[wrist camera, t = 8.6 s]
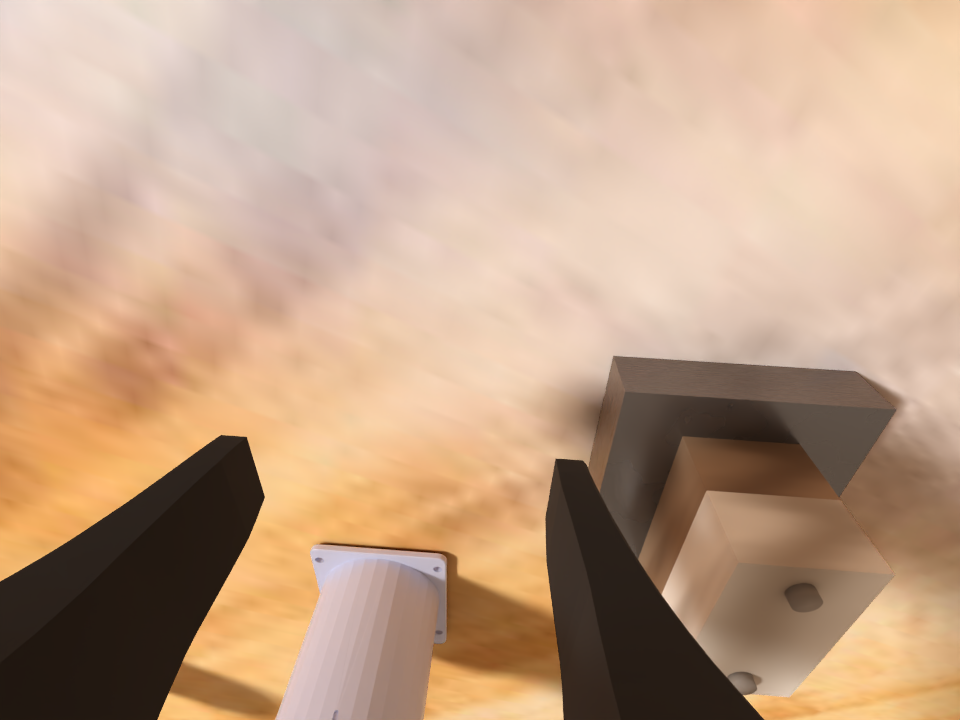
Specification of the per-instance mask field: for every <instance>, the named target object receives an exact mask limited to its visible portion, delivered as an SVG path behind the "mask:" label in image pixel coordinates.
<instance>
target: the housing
mask: <svg viewBox="0 0 960 720" xmlns="http://www.w3.org/2000/svg"><path fill="white" fill-rule="evenodd" d="M638 560H639V562H640V564H641V565H642V567H643V568H644V570H645V571H646V573H647V574H648V576H649V577H650V579H651V580H652V582H653V583H654V585H655V586H656V588H657V589H658V590H659V592H660V593H661V595H662V596H663V598H664V599H665V600H666V602H667V603H668V604H669V606H670V607H671V609H672V610H673V611H674V613H675V614H676V615H677V617H678V618H679V619H680V621H681V622H682V623H683V624H684V626H685V627H686V628H687V630H688V631H689V632H690V634H691V635H692V636H693V637H694V639H695V640H696V641H697V642H698V644H699V645H700V646H701V647H702V649H703V650H704V651H705V652H706V654H707V655H708V656H709V657H710V659H711V660H712V661H713V662H714V663H715V664H716V666H717V667H718V668H719V669H720V670H721V671H722V672H723V674H724V675H725V676H726V677H727V678H728V679H729V680H730V682H731V683H732V684H733V685H734V686H735V687H736V688H737V689H738V691H739V692H740V693H741V694H742V695H748V694H757V695H769V696H781V697H790V696H791V695H792V694H793V693H794V691H795V690H796V689H797V688H798V687H799V686H800V684H801V683H802V682H803V681H804V680H805V679H806V678H807V676H808V675H809V674H810V673H811V672H812V671H813V669H814V668H815V667H816V666H817V665H818V664H819V663H820V661H821V660H822V659H823V658H824V657H825V656H826V654H827V653H828V652H829V651H830V650H831V649H832V647H833V646H834V645H835V644H836V643H837V642H838V641H839V639H840V638H841V637H842V636H843V635H844V634H845V632H846V631H847V630H848V629H849V628H850V627H851V626H852V624H853V623H854V622H855V621H856V620H857V619H858V617H859V616H860V615H861V614H862V613H863V612H864V610H865V609H866V608H867V607H868V606H869V605H870V604H871V602H872V601H873V600H874V599H875V598H876V597H877V595H878V594H879V593H880V592H881V591H882V590H883V589H884V587H885V586H886V585H887V584H888V583H889V582H890V580H891V579H892V578H893V577H894V576H895V573H894V572H893V571H892V569H891V568H890V566H889V565H888V564H887V562H886V561H885V560H884V558H883V557H882V556H881V554H880V553H879V551H878V550H877V549H876V547H875V546H874V545H873V543H872V542H871V541H870V539H869V538H868V536H867V535H866V534H865V532H864V531H863V530H862V528H861V527H860V526H859V524H858V523H857V521H856V520H855V519H854V517H853V516H852V515H851V513H850V512H849V511H848V509H847V508H846V506H845V505H844V504H843V502H842V501H841V500H840V498H839V497H838V495H837V494H836V493H835V491H834V490H833V489H832V487H831V486H830V485H829V483H828V482H827V480H826V479H825V478H824V476H823V475H822V474H821V472H820V471H819V470H818V468H817V467H816V465H815V464H814V463H813V461H812V460H811V459H810V457H809V456H808V455H807V453H806V452H805V450H804V449H803V448H802V446H801V445H800V444H787V443H773V442H758V441H744V440H729V439H715V438H701V437H686V436H682V439H681V442H680V445H679V447H678V450H677V453H676V456H675V459H674V461H673V464H672V467H671V470H670V472H669V475H668V478H667V481H666V484H665V486H664V489H663V492H662V495H661V497H660V500H659V503H658V506H657V509H656V511H655V514H654V517H653V520H652V522H651V525H650V528H649V531H648V534H647V536H646V539H645V542H644V545H643V547H642V550H641V553H640V556H639V559H638Z"/></svg>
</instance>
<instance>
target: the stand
mask: <svg viewBox="0 0 960 720" xmlns="http://www.w3.org/2000/svg"><path fill="white" fill-rule="evenodd" d="M896 410H897V409H895V408H894V407H893V406H892V405H891V404H890V403H889V402H888V401H887V400H886V399H885V398H884V397H883V396H881V395H880V394H879V393H878V392H877V391H876V390H875V389H874V388H873V387H872V386H871V385H870V384H869V383H867V382H866V381H865V380H864V379H863V378H862V377H861V376H860V375H859V374H858V373H857V372H852V371H836V370H821V369H805V368H789V367H774V366H758V365H742V364H727V363H711V362H695V361H680V360H664V359H648V358H633V357H617V356H613V361H612V365H611V369H610V374H609V378H608V383H607V387H606V391H605V396H604V400H603V405H602V409H601V414H600V418H599V422H598V427H597V431H596V436H595V440H594V444H593V449H592V453H591V458H590V462H589V467H588V470H589V472H590V474H591V476H592V478H593V480H594V483H595V485H596V487H597V489H598V491H599V493H600V495H601V497H602V498H603V500H604V502H605V504H606V506H607V508H608V510H609V512H610V513H611V515H612V517H613V519H614V521H615V522H616V524H617V526H618V527H619V529H620V531H621V533H622V534H623V536H624V538H625V539H626V541H627V543H628V544H629V546H630V548H631V549H632V551H633V553H634V554H635V556H636V557H637V559H639V556H640V553H641V550H642V547H643V545H644V542H645V539H646V536H647V534H648V531H649V528H650V525H651V522H652V520H653V517H654V514H655V511H656V509H657V506H658V503H659V500H660V497H661V495H662V492H663V489H664V486H665V484H666V481H667V478H668V475H669V472H670V470H671V467H672V464H673V461H674V459H675V456H676V453H677V450H678V447H679V445H680V442H681V439H682V436H686V437H701V438H715V439H729V440H744V441H758V442H773V443H787V444H800V445H801V446H802V448H803V449H804V450H805V452H806V453H807V455H808V456H809V457H810V459H811V460H812V461H813V463H814V464H815V465H816V467H817V468H818V470H819V471H820V472H821V474H822V475H823V476H824V478H825V479H826V480H827V482H828V483H829V485H830V486H831V487H832V489H833V490H834V491H835V493H836V494H837V495H838V497H840V495H841V494H842V492H843V491H844V489H845V487H846V486H847V484H848V483H849V481H850V480H851V478H852V477H853V475H854V474H855V472H856V471H857V469H858V468H859V466H860V465H861V463H862V462H863V460H864V459H865V457H866V456H867V454H868V452H869V451H870V449H871V448H872V446H873V445H874V443H875V442H876V440H877V439H878V437H879V436H880V434H881V433H882V431H883V430H884V428H885V427H886V425H887V424H888V422H889V421H890V419H891V417H892V416H893V414H894V413H895V411H896Z"/></svg>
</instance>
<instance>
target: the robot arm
mask: <svg viewBox="0 0 960 720" xmlns="http://www.w3.org/2000/svg"><path fill="white" fill-rule="evenodd" d="M264 498H265V496H264V493H263V490H262V486H261V483H260V480H259V476H258V473H257V470H256V467H255V463H254V460H253V457H252V453H251V450H250V447H249V443H248V440H247V437H239V436H225V435H221V436H219V437H218V438H216V439H215V440H213V441H212V442H210V443H209V444H207V445H206V446H205V447H203V448H202V449H200V450H199V451H198V452H196V453H195V454H194V455H192V456H191V457H189V458H188V459H187V460H185V461H184V462H183V463H181V464H180V465H179V466H177V467H176V468H174V469H173V470H172V471H170V472H169V473H168V474H166V475H165V476H163V477H162V478H161V479H159V480H158V481H156V482H155V483H154V484H152V485H151V486H149V487H148V488H147V489H145V490H144V491H143V492H141V493H140V494H138V495H137V496H136V497H134V498H133V499H131V500H130V501H128V502H127V503H126V504H124V505H123V506H121V507H120V508H118V509H117V510H115V511H114V512H112V513H111V514H109V515H108V516H106V517H105V518H103V519H102V520H100V521H99V522H97V523H96V524H94V525H93V526H91V527H90V528H88V529H87V530H85V531H84V532H82V533H81V534H79V535H78V536H76V537H75V538H73V539H71V540H70V541H68V542H67V543H65V544H63V545H62V546H60V547H59V548H57V549H55V550H54V551H52V552H50V553H49V554H47V555H46V556H44V557H42V558H40V559H39V560H37V561H35V562H34V563H32V564H30V565H28V566H27V567H25V568H23V569H22V570H20V571H18V572H16V573H15V574H13V575H11V576H9V577H8V578H6V579H4V580H2V581H1V582H0V720H157V719H158V717H159V714H160V712H161V709H162V707H163V705H164V702H165V700H166V698H167V695H168V693H169V691H170V689H171V686H172V684H173V682H174V680H175V677H176V675H177V673H178V670H179V668H180V666H181V664H182V661H183V659H184V657H185V655H186V653H187V651H188V649H189V647H190V645H191V643H192V641H193V639H194V637H195V635H196V633H197V631H198V629H199V628H200V626H201V624H202V622H203V620H204V619H205V617H206V615H207V613H208V611H209V610H210V608H211V606H212V604H213V602H214V601H215V599H216V597H217V595H218V593H219V592H220V590H221V588H222V586H223V584H224V583H225V581H226V579H227V577H228V575H229V574H230V572H231V570H232V568H233V566H234V564H235V563H236V561H237V559H238V557H239V555H240V553H241V552H242V550H243V548H244V546H245V544H246V542H247V540H248V538H249V536H250V534H251V531H252V529H253V526H254V524H255V522H256V519H257V516H258V514H259V511H260V509H261V506H262V503H263V501H264ZM310 555H311V559H312V563H313V567H314V571H315V575H316V579H317V583H318V587H319V591H320V596H319V599H318V602H317V604H316V607H315V610H314V613H313V616H312V618H311V621H310V624H309V627H308V630H307V632H306V635H305V638H304V641H303V644H302V646H301V649H300V652H299V655H298V658H297V660H296V663H295V666H294V669H293V672H292V674H291V677H290V680H289V683H288V686H287V688H286V691H285V694H284V697H283V699H282V702H281V705H280V708H279V711H278V713H277V716H276V719H275V720H423V719H424V711H425V704H426V696H427V689H428V682H429V674H430V667H431V659H432V652H433V645H434V643H436V644H442V643H444V642H446V638H447V558H446V557H445V556H444V555H442V554H439V553H427V552H414V551H401V550H388V549H375V548H362V547H349V546H336V545H322V544H317V545H314V546H313V547H312V549H311V551H310ZM546 555H547V568H548V576H549V583H550V591H551V599H552V607H553V614H554V622H555V629H556V637H557V644H558V652H559V659H560V669H561V679H562V692H563V713H564V720H764V719H763V718H762V717H761V716H760V715H759V713H758V712H757V711H756V710H755V709H754V708H753V707H752V705H751V704H750V703H749V702H748V701H747V700H746V699H745V697H744V696H743V695H742V694H741V693H740V692H739V691H738V689H737V688H736V687H735V686H734V685H733V684H732V683H731V682H730V680H729V679H728V678H727V677H726V676H725V675H724V674H723V672H722V671H721V670H720V669H719V668H718V667H717V666H716V664H715V663H714V662H713V661H712V660H711V659H710V657H709V656H708V655H707V654H706V652H705V651H704V650H703V649H702V647H701V646H700V645H699V644H698V642H697V641H696V640H695V639H694V637H693V636H692V635H691V634H690V632H689V631H688V630H687V628H686V627H685V626H684V624H683V623H682V622H681V621H680V619H679V618H678V617H677V615H676V614H675V613H674V611H673V610H672V609H671V607H670V606H669V604H668V603H667V602H666V600H665V599H664V598H663V596H662V595H661V593H660V592H659V590H658V589H657V588H656V586H655V585H654V583H653V582H652V580H651V579H650V577H649V576H648V574H647V573H646V571H645V570H644V568H643V567H642V565H641V564H640V562H639V560H638V559H637V557H636V556H635V554H634V553H633V551H632V549H631V548H630V546H629V544H628V543H627V541H626V539H625V538H624V536H623V534H622V533H621V531H620V529H619V527H618V526H617V524H616V522H615V521H614V519H613V517H612V515H611V513H610V512H609V510H608V508H607V506H606V504H605V502H604V500H603V498H602V497H601V495H600V493H599V491H598V489H597V487H596V485H595V483H594V480H593V478H592V476H591V474H590V472H589V470H588V467H587V465H586V464H585V463H584V462H583V461H581V460H567V459H556V460H555V466H554V472H553V478H552V483H551V489H550V495H549V501H548V507H547V512H546Z"/></svg>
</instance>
